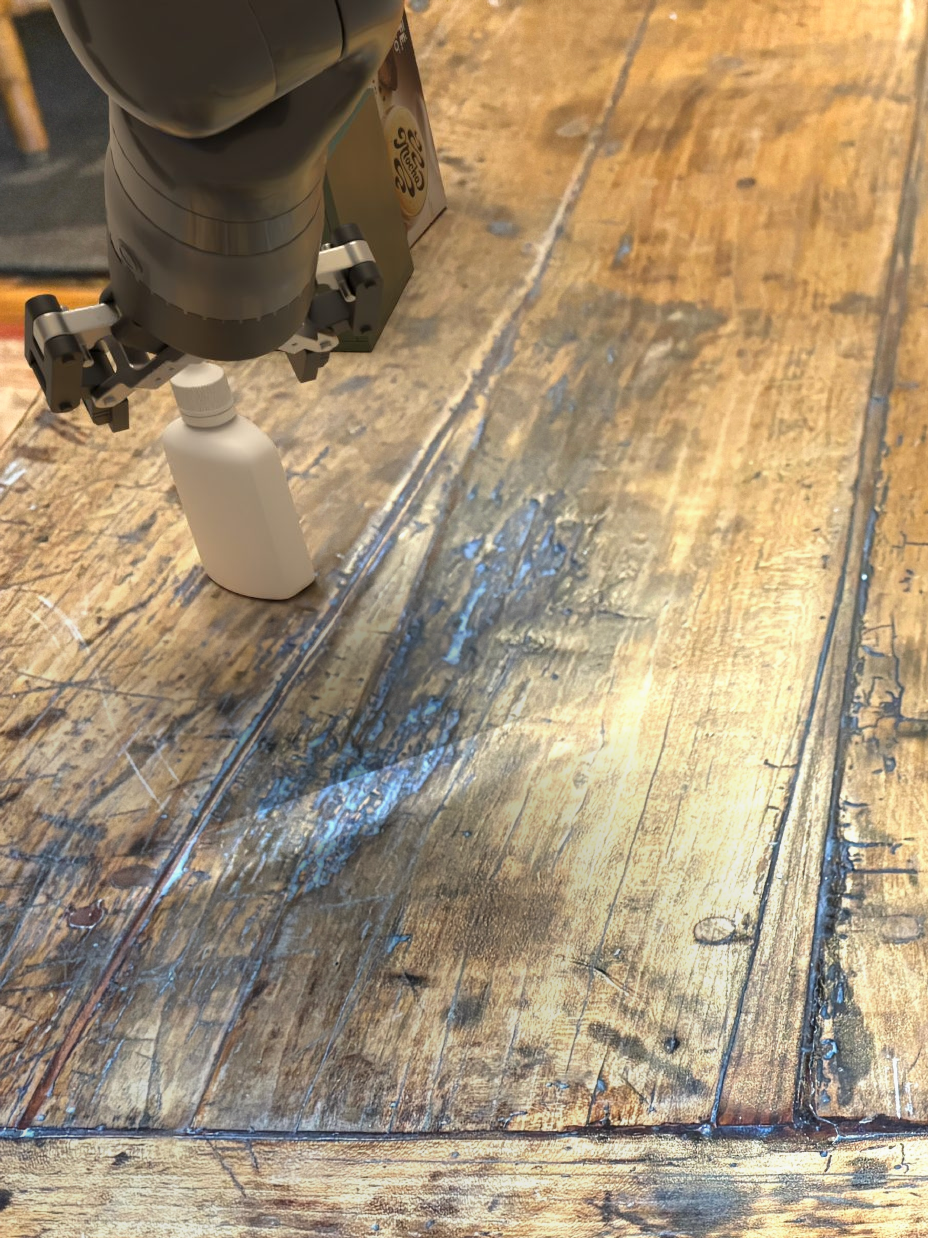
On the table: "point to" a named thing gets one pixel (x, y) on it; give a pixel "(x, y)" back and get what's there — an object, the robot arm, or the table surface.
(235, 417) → the eye dropper bottle
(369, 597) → the table surface
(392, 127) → the coffee box
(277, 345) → the robot arm
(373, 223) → the trash can
